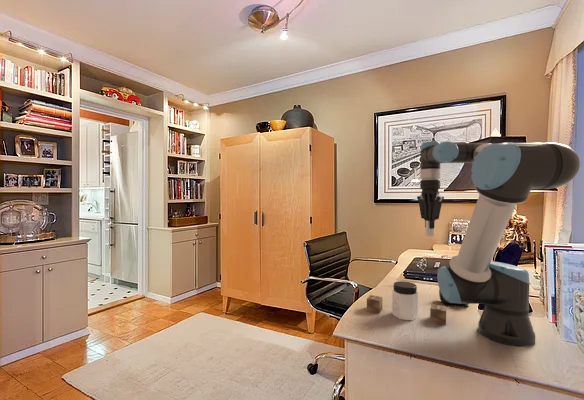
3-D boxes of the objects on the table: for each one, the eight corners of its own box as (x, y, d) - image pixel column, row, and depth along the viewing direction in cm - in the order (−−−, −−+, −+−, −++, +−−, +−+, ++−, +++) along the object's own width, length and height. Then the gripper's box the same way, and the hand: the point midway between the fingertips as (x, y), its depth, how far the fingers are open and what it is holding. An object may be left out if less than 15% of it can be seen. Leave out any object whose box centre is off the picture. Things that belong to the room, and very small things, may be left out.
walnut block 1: (446, 319, 108) (446, 305, 108) (445, 325, 104) (445, 310, 104) (431, 317, 111) (431, 303, 111) (430, 322, 107) (430, 308, 106)
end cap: (464, 301, 127) (464, 285, 127) (470, 307, 120) (470, 291, 120) (438, 299, 129) (439, 284, 129) (443, 305, 122) (443, 289, 122)
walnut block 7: (382, 309, 118) (382, 296, 118) (379, 313, 114) (379, 300, 114) (369, 307, 121) (369, 294, 120) (366, 311, 116) (366, 298, 116)
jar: (388, 312, 115) (388, 281, 115) (405, 310, 117) (406, 280, 117) (403, 322, 106) (403, 289, 106) (422, 319, 109) (422, 286, 108)
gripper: (449, 179, 118) (449, 238, 118) (426, 180, 130) (425, 233, 131) (434, 178, 116) (433, 238, 116) (412, 180, 128) (411, 234, 129)
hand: (429, 236), depth 124 cm, fingers closed
